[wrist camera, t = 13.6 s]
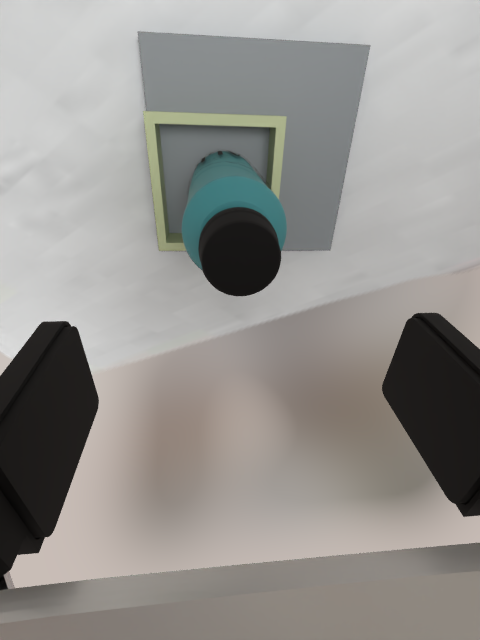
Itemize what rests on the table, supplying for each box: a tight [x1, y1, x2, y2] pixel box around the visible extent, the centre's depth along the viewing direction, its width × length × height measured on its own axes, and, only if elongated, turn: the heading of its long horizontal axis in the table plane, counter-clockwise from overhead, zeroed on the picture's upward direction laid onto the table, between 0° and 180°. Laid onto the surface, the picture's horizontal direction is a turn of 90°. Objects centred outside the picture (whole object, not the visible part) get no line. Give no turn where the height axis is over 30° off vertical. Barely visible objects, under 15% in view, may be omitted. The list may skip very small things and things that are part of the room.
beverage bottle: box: [182, 150, 287, 296], centre depth 23 cm, size 6×7×20 cm
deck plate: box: [138, 32, 370, 251], centre depth 30 cm, size 19×18×4 cm
